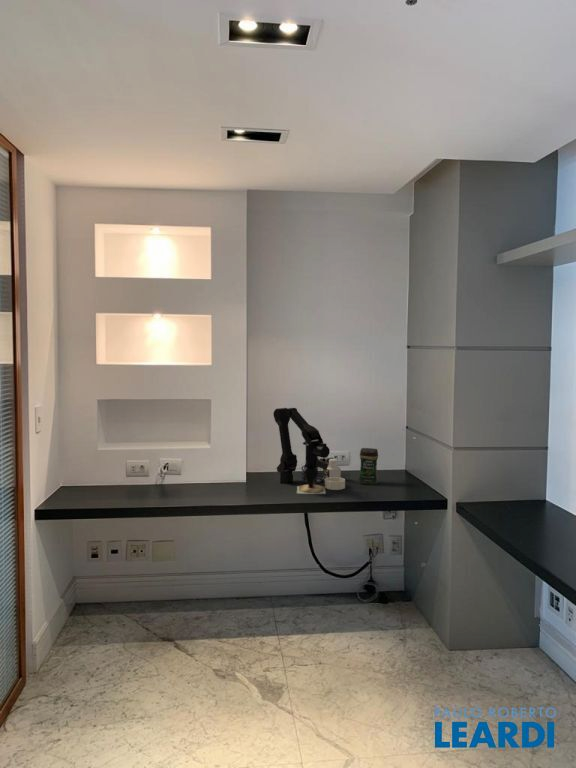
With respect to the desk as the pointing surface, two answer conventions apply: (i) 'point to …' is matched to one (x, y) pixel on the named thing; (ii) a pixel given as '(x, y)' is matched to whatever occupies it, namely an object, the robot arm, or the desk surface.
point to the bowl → (335, 483)
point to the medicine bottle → (332, 469)
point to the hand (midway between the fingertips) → (311, 485)
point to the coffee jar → (368, 466)
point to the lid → (311, 490)
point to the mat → (311, 493)
